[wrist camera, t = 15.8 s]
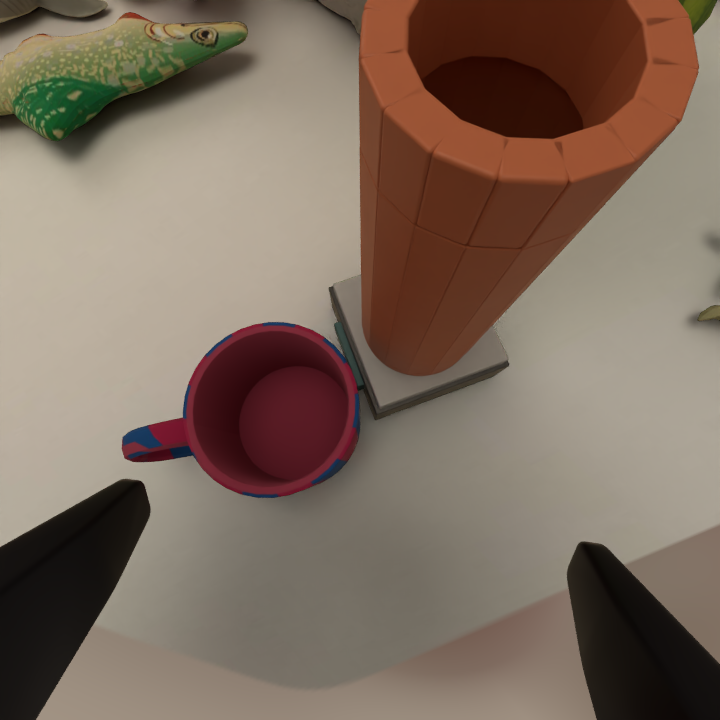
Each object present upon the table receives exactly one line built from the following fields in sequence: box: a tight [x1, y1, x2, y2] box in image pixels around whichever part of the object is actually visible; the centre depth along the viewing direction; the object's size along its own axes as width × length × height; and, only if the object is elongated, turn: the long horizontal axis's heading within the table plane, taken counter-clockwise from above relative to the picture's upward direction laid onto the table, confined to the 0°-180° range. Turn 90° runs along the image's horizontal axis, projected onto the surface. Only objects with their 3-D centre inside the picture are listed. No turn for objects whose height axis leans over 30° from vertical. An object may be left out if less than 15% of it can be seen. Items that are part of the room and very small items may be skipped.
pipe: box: [359, 0, 699, 376], centre depth 14 cm, size 5×5×14 cm
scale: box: [329, 275, 509, 420], centre depth 22 cm, size 7×7×3 cm
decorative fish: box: [0, 12, 248, 141], centre depth 26 cm, size 3×26×10 cm
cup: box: [122, 322, 360, 498], centre depth 19 cm, size 7×10×7 cm
